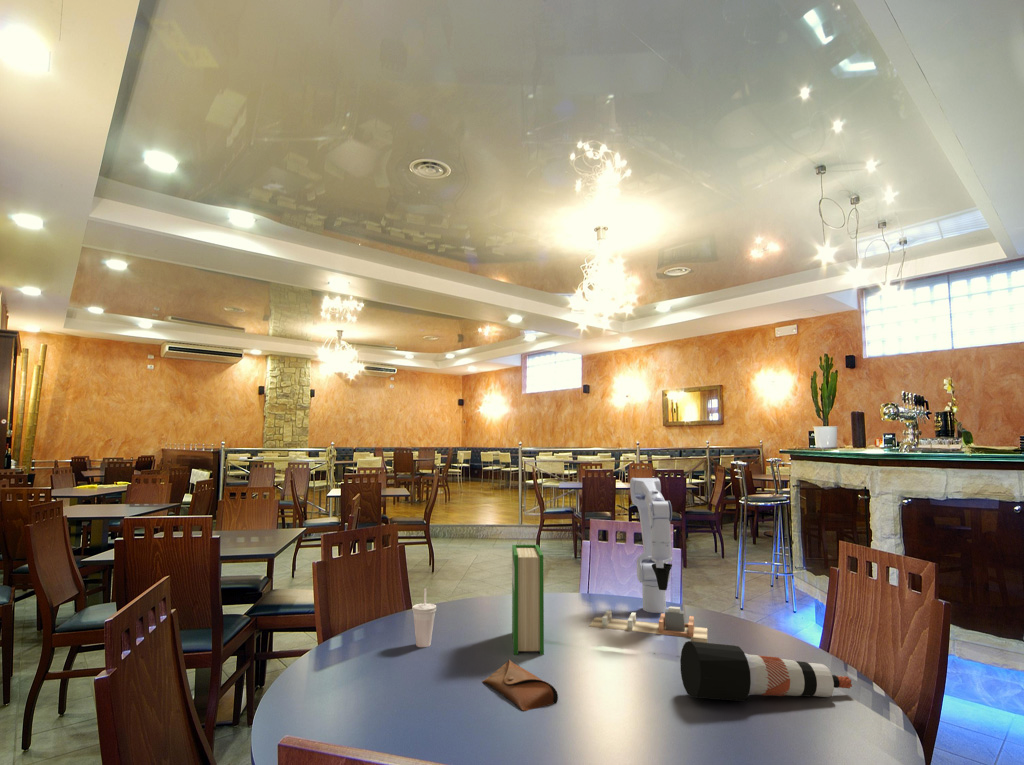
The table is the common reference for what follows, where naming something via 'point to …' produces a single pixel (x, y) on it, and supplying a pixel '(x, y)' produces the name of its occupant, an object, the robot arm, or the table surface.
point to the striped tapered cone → (751, 674)
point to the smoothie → (423, 622)
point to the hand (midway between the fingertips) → (662, 589)
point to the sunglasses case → (522, 687)
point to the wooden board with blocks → (650, 626)
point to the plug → (674, 619)
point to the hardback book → (527, 599)
